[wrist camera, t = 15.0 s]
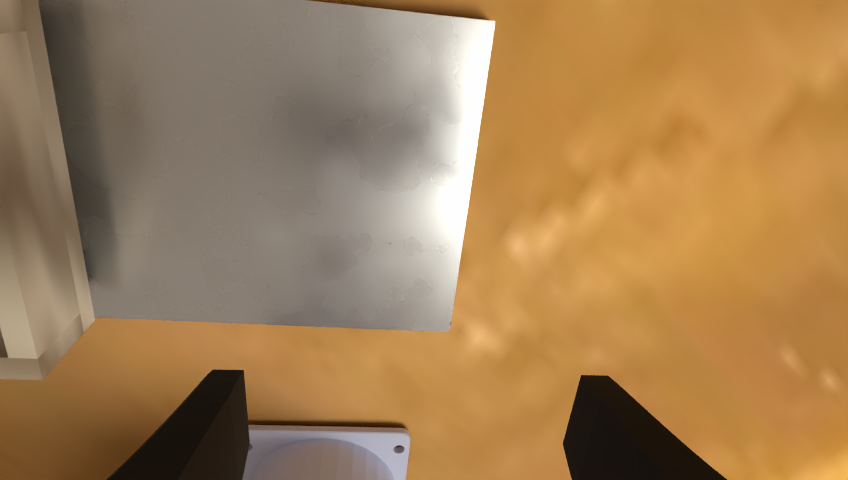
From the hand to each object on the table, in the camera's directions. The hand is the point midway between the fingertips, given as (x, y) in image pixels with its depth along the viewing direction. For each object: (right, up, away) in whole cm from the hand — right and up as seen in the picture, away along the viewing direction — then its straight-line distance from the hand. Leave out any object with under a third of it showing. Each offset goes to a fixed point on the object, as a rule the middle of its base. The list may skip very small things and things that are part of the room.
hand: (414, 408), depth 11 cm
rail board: (-12, +6, +7) cm, 15 cm away
